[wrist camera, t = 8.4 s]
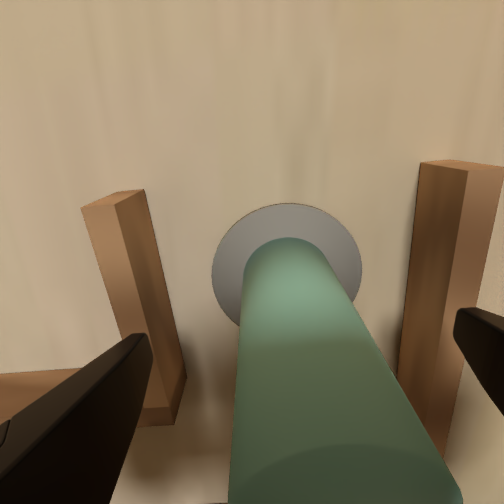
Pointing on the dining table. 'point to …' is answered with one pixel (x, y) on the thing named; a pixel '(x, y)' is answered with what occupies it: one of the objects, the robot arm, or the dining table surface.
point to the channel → (415, 313)
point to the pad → (279, 226)
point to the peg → (320, 396)
